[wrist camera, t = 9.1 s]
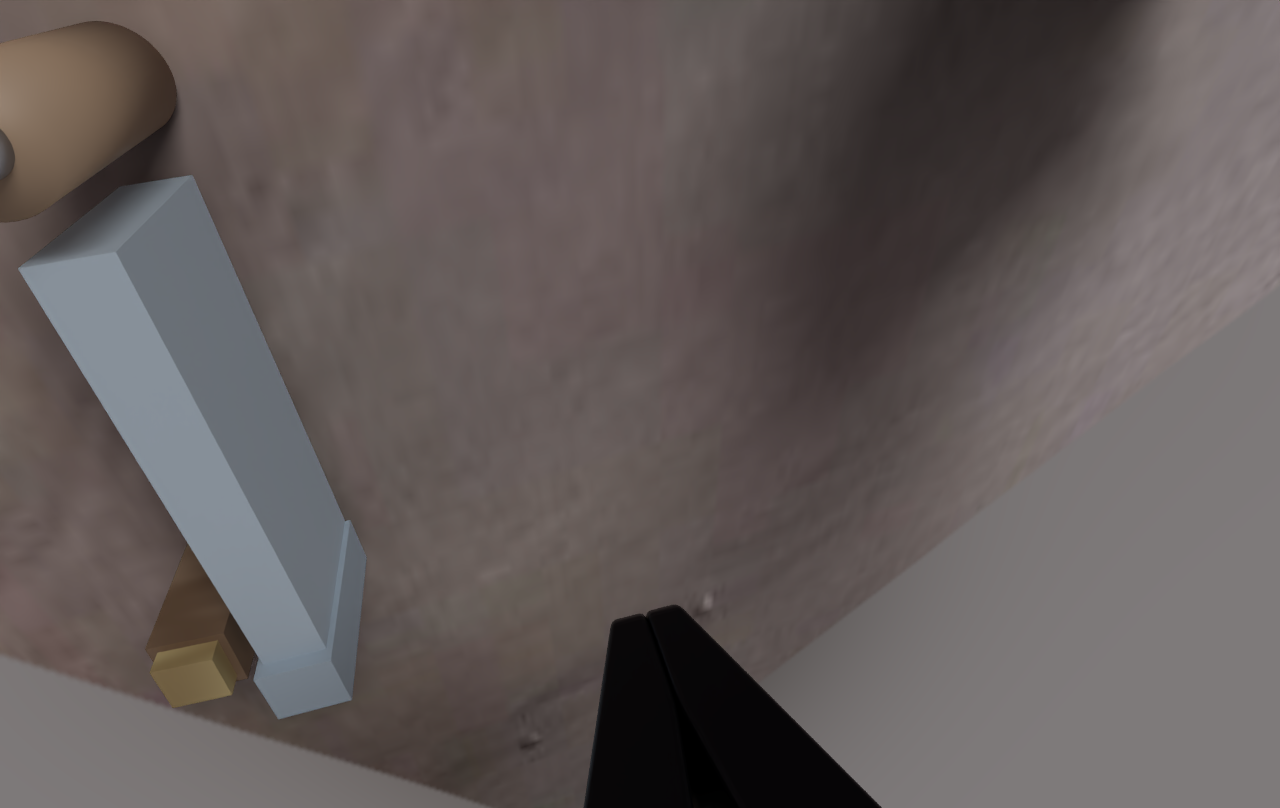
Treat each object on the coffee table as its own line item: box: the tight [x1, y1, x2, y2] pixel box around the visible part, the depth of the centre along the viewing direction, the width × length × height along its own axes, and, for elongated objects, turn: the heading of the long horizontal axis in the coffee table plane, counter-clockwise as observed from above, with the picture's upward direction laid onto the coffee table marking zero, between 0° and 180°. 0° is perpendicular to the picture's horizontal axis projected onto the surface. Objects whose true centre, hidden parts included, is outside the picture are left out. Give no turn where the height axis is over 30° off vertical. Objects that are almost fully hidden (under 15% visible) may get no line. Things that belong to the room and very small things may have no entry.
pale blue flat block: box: [0, 21, 367, 719], centre depth 16 cm, size 15×2×6 cm, turn 6°
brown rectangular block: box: [145, 544, 255, 708], centre depth 20 cm, size 2×2×5 cm
